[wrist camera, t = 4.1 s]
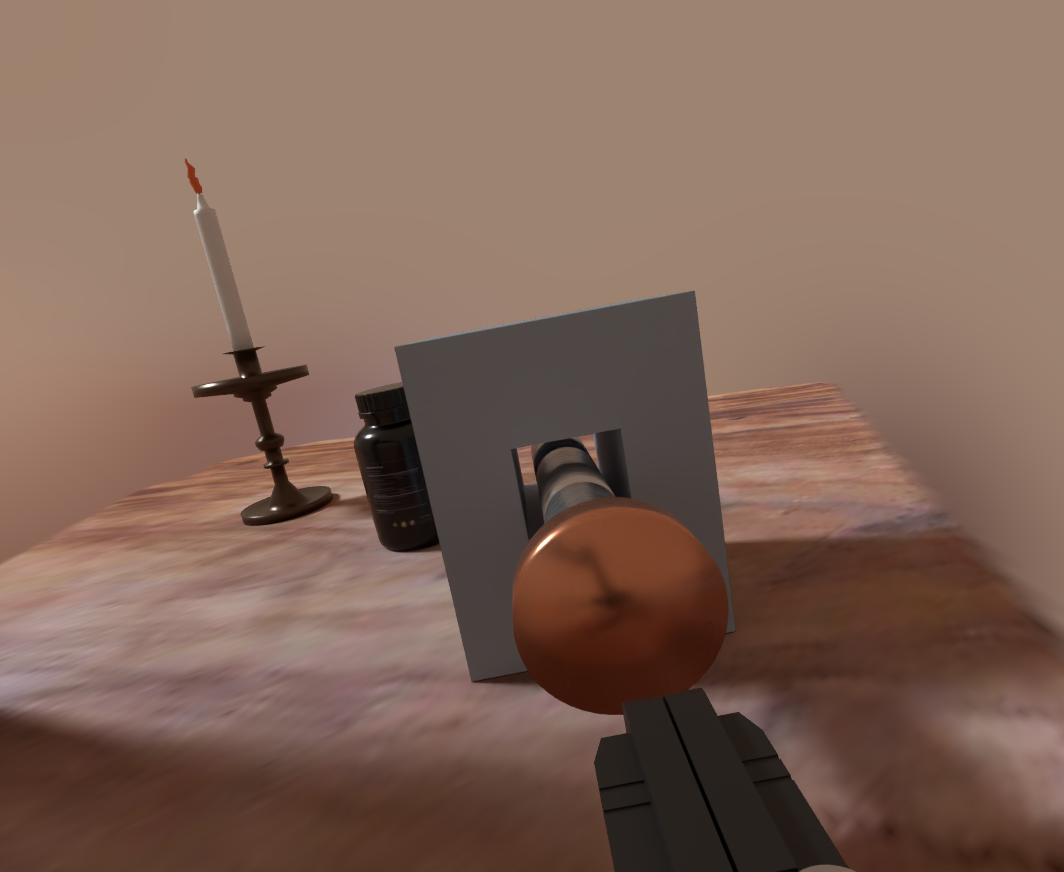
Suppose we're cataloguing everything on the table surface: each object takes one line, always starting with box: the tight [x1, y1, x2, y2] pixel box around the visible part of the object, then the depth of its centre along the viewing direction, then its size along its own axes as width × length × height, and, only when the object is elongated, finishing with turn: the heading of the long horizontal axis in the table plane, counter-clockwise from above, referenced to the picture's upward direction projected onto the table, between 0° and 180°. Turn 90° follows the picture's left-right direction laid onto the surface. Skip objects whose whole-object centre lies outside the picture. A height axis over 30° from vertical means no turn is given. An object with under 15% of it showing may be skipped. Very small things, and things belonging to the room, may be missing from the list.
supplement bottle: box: [354, 382, 439, 551], centre depth 44 cm, size 7×7×12 cm
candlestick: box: [185, 159, 333, 526], centre depth 57 cm, size 11×11×35 cm
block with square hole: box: [395, 291, 736, 681], centre depth 29 cm, size 10×12×15 cm
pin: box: [512, 437, 729, 715], centre depth 24 cm, size 20×6×6 cm, turn 2°
